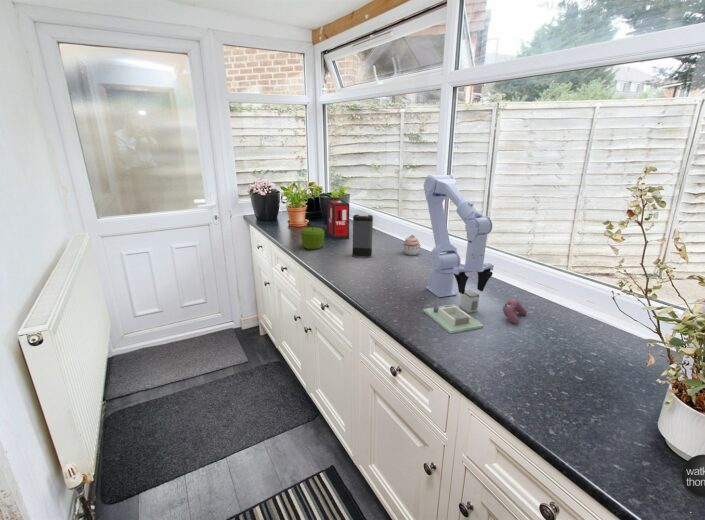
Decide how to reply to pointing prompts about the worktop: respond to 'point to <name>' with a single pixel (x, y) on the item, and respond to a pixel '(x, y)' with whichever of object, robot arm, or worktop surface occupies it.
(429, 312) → the board
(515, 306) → the video game controller
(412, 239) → the cupcake
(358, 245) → the electronic device
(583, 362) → the worktop surface
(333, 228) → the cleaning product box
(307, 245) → the apple
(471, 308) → the plug
